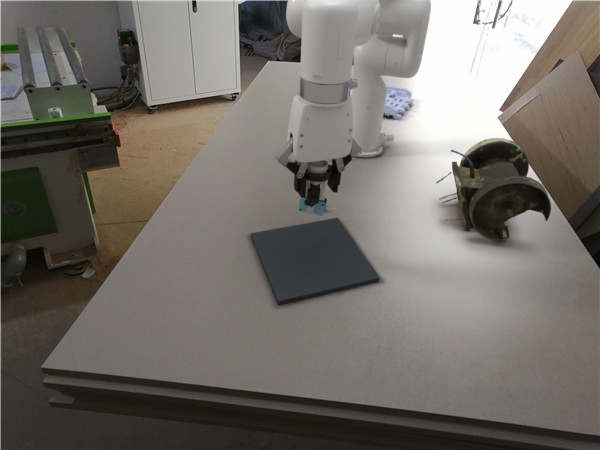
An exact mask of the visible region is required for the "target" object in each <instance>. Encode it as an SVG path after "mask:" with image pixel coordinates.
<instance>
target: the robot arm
mask: <svg viewBox="0 0 600 450" xmlns="http://www.w3.org/2000/svg"><path fill="white" fill-rule="evenodd" d="M431 7H432V2H431V0H287V4H286V10H285V11H286V12H285V18H286V24H287V27H288V28H289V31H290V32H291V33H292V35H294V36H295V37H297V38H300V39H301V43H300V44H301V45H300V46H301V47H300V67H299V69H300V72H299V93H298V94H296V95H294V96H293V99H292V103H291V108H290V113H289V120H288V126H287V134H286V135H287V136H286V138H287V139H286V143H285V144H284V145H283V146H282V147H281V149H280V150H279V151H278V153H276V155H275V159H276V161H277V163H278V164H280V165H281V166H283V167H285V168H286V169H287V170H289V171H290V172H291V173H292V174H293V175H294V176H293V178H294V179H293V187H294V188H293V189H294V191H295V192H296V193H298V195H299V196H300V198H305V197H306V182H307V179H306V177H305V175H304V174H305V171H306V168H307V166H308V163H309V162H315V161H323V160H325V161H329V160H331V164H329V165H330V166H331V167H332V173H331V174H330V178H329V179H328V180H327V181H326V182H327V184H326V185H327V186H328V188H329V189H330V190H331V192H332V193H335V194H336V193H338V192H339V186H340V185H341V178H342V173H343V172H344V171H345V169H346V167H347V166H348V165H349V164H350V163H351V162H352V161H353V158H355V157H357V158H375V157H378V156H379V155H381V154H382V153H383V151H384V145H383V144H385V143H390V142H393V141H394V140H395V137H394V135H393V134H386V132H381V131H382V127H383V126H382V125H383V119H384V115H385V113H384V108H385V102H386V97H387V89H386V85H387V84H386V82H385V81H384V78H383V77H391V78H400V79H412V78H413V77H415V76H416V75H417V74H418V72H419V69H420V67H421V64H422V60H423V55H424V49H425V45H426V39H427V34H428V28H429V24H430V17H431V11H432V8H431ZM378 33H379V34H378ZM393 35H395V36H393ZM352 71H353V77H352ZM352 78H353V79H352ZM351 89H353V90H352V99H351V97H350V96H349V95H350V90H351ZM291 154H293V155H294V156H293V159H294V161H293V160H291V159H290V158H289V157H290V156H291Z"/></svg>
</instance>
